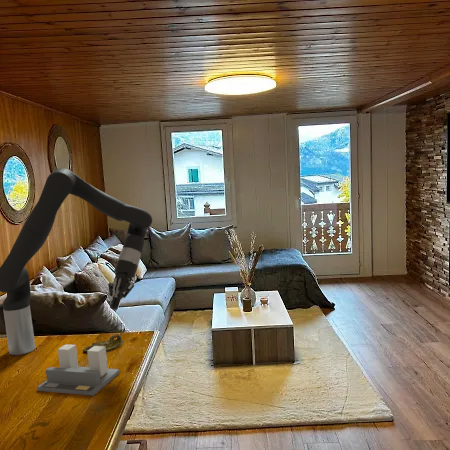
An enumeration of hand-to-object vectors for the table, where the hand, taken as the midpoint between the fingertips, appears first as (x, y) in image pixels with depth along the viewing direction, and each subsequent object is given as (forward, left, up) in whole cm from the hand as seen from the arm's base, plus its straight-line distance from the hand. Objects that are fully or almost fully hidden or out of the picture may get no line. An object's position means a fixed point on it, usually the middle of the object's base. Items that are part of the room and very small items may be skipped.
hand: (113, 309), depth 157 cm
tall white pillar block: (+11, -10, -16) cm, 22 cm away
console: (+8, -15, -18) cm, 25 cm away
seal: (-14, -1, -19) cm, 23 cm away
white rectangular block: (+3, -17, -16) cm, 24 cm away
